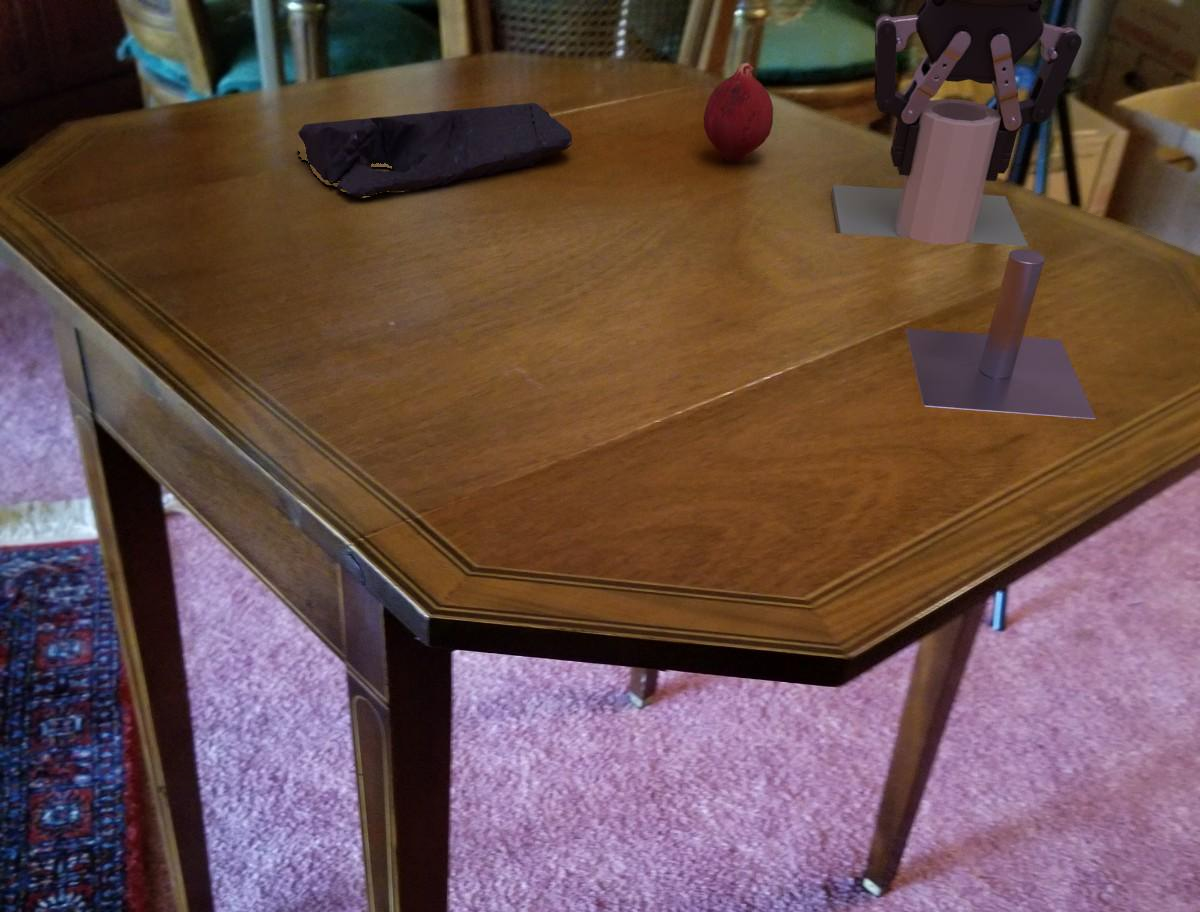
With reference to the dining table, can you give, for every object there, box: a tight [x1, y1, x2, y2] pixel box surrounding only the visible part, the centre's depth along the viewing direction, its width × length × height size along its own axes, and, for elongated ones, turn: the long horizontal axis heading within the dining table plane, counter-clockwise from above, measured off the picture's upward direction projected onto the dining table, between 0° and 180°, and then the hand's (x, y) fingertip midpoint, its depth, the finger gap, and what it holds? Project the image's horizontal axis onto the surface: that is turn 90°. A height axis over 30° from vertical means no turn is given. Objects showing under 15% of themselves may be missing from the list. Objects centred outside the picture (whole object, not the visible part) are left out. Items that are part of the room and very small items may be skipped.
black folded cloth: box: [298, 102, 573, 198], centre depth 100 cm, size 15×22×5 cm
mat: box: [830, 184, 1029, 247], centre depth 92 cm, size 14×18×1 cm
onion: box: [703, 62, 774, 163], centre depth 101 cm, size 6×6×8 cm
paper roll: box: [895, 98, 1001, 246], centre depth 88 cm, size 6×6×9 cm
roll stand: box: [904, 248, 1097, 420], centre depth 72 cm, size 10×10×9 cm
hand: (945, 173), depth 88 cm, fingers closed on paper roll, 5 cm apart
